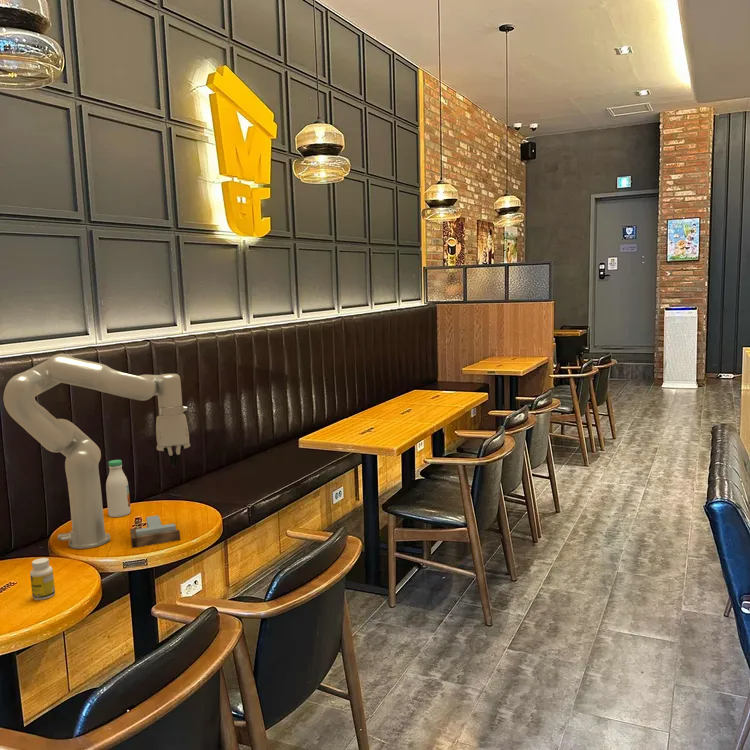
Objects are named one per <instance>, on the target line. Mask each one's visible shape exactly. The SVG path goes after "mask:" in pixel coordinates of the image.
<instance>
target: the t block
mask: <svg viewBox="0 0 750 750" xmlns="http://www.w3.org/2000/svg"><path fill="white" fill-rule="evenodd" d="M145 519H146V527H142V528H135V530H136V536H142V535H148V534H155V533H161V532H167V531H173V530H177V527H176V524H175V523H176V522H175V523H169V524H168V523H167V524H162V521H161V519H160V516H159V515H157V514H156V515H152V516H146V517H145Z"/></svg>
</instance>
